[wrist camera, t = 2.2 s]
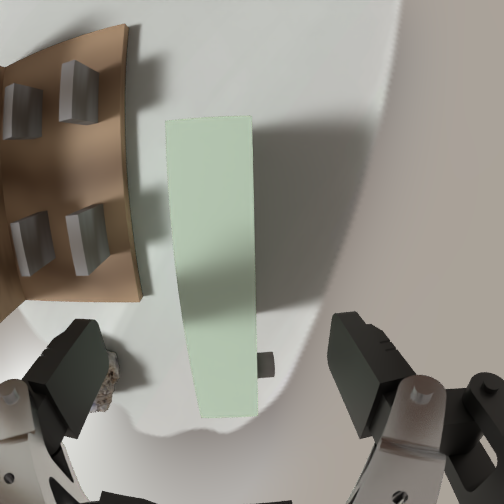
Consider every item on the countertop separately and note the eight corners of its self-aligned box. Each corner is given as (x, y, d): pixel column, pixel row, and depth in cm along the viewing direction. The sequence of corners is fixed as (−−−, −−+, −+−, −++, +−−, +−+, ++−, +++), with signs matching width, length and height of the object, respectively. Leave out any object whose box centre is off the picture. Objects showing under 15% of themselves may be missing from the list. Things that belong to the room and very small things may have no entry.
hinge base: (1, 74, 15) (-70, 61, 6) (128, 28, 16) (74, -33, 7) (20, 295, 22) (-38, 348, 13) (142, 296, 23) (100, 376, 14)
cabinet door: (198, 138, 20) (165, 121, 9) (255, 136, 20) (280, 115, 9) (210, 315, 24) (201, 417, 14) (258, 313, 24) (276, 414, 14)
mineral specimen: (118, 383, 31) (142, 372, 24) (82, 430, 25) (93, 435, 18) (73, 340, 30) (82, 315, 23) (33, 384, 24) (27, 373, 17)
